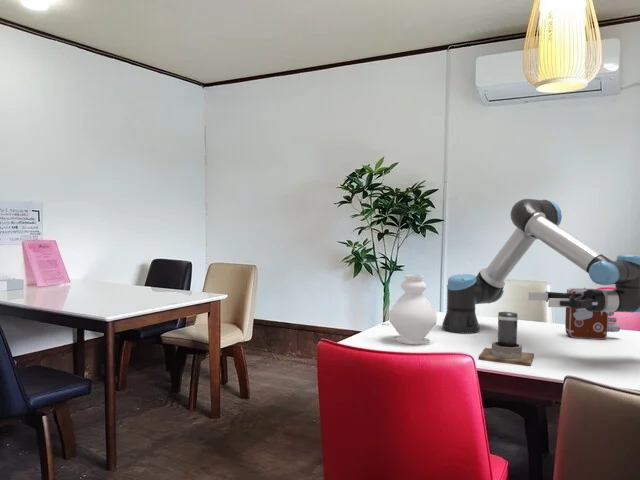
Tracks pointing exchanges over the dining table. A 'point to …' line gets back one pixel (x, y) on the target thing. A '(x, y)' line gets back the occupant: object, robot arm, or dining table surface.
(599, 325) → the cine camera
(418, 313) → the decorative vase
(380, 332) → the dining table surface
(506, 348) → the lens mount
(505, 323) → the tube
